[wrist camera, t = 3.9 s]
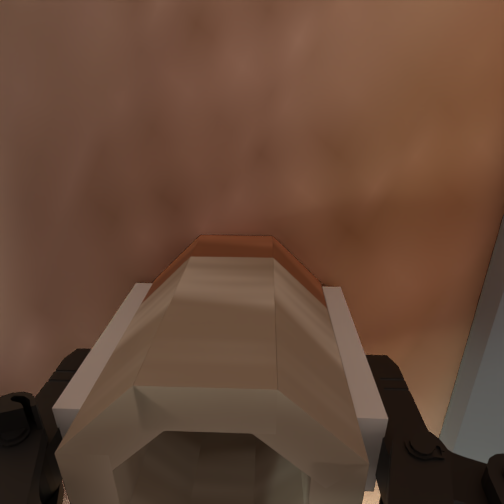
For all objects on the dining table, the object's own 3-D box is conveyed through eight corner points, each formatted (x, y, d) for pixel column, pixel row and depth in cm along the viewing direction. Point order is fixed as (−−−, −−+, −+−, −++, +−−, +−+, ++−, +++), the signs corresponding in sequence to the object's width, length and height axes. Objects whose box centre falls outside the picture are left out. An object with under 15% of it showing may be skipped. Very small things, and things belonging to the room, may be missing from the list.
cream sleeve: (166, 370, 17) (92, 576, 10) (149, 234, 15) (32, 382, 7) (312, 374, 17) (345, 587, 10) (324, 236, 14) (383, 393, 7)
